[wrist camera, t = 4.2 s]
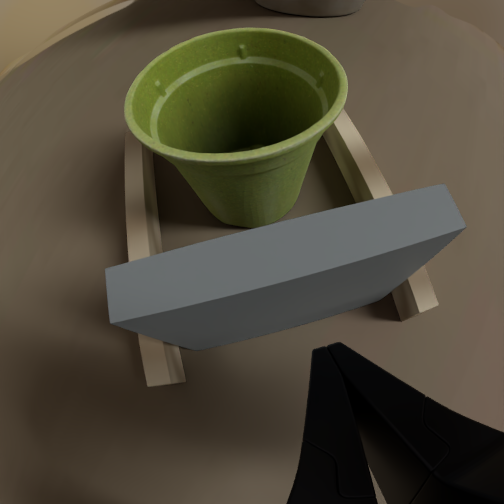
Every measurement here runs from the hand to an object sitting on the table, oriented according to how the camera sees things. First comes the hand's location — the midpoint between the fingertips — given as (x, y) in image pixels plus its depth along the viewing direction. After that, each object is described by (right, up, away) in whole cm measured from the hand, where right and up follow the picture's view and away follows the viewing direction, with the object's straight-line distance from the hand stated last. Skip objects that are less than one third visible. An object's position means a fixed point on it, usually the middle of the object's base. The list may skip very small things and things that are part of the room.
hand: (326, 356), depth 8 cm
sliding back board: (-1, +1, +8) cm, 8 cm away
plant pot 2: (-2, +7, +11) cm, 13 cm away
